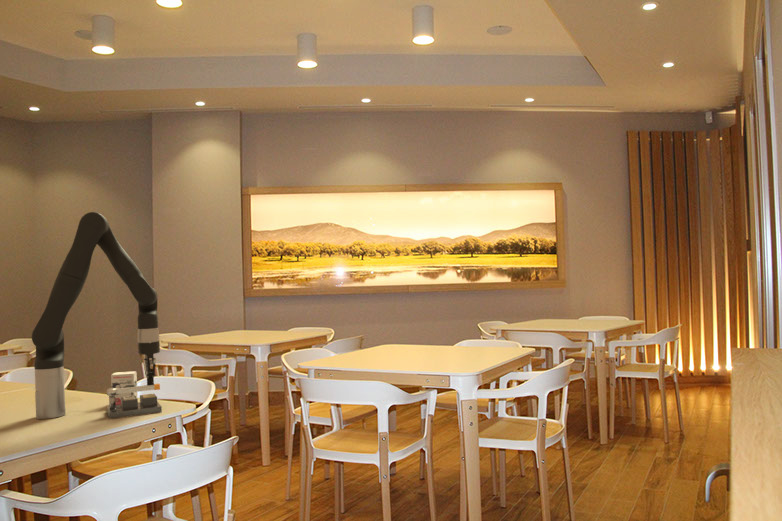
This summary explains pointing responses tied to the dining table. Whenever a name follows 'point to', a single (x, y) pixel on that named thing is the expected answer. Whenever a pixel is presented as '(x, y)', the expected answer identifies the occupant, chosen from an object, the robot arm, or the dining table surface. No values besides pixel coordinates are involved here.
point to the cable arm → (132, 389)
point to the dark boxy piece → (133, 406)
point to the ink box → (124, 384)
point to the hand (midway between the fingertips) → (150, 387)
